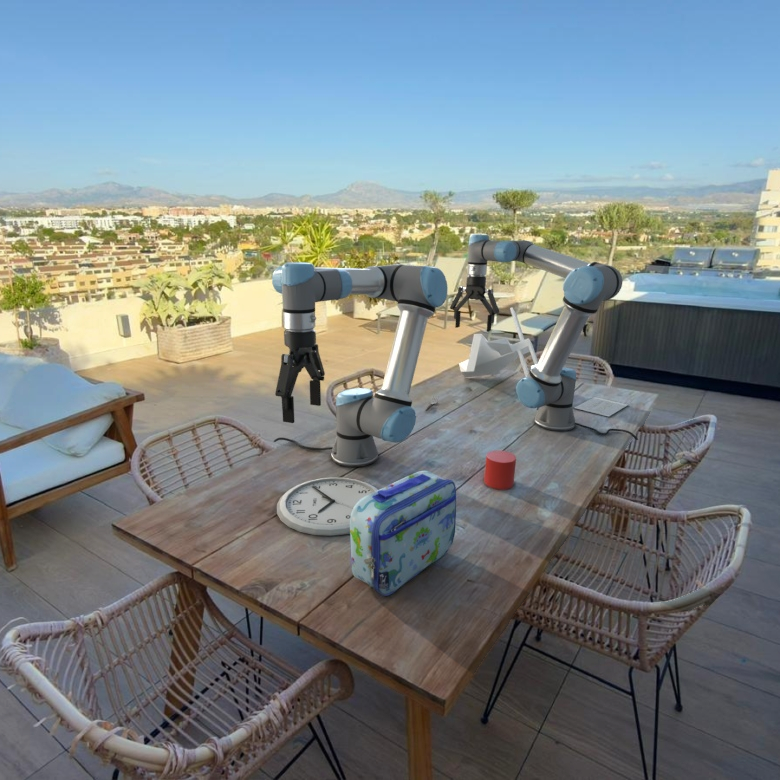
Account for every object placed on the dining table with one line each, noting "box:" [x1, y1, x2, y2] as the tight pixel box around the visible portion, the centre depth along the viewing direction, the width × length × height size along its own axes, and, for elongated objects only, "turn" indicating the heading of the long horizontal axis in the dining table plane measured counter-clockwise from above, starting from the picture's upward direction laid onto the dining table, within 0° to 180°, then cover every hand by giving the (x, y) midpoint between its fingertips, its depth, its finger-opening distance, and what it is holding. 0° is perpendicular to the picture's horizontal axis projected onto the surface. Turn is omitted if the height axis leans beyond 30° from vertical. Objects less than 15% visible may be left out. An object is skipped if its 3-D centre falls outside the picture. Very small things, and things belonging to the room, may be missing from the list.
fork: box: [425, 396, 439, 412], centre depth 222 cm, size 3×16×2 cm, turn 160°
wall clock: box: [276, 476, 380, 537], centre depth 142 cm, size 30×2×30 cm
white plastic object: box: [458, 306, 539, 378], centre depth 258 cm, size 37×45×31 cm
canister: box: [483, 450, 517, 490], centre depth 156 cm, size 9×9×9 cm
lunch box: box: [349, 470, 457, 597], centre depth 114 cm, size 26×11×21 cm, turn 134°
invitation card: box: [573, 396, 629, 418], centre depth 226 cm, size 21×1×15 cm
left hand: (302, 413), depth 131 cm, fingers open, 13 cm apart
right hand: (472, 329), depth 211 cm, fingers open, 13 cm apart
